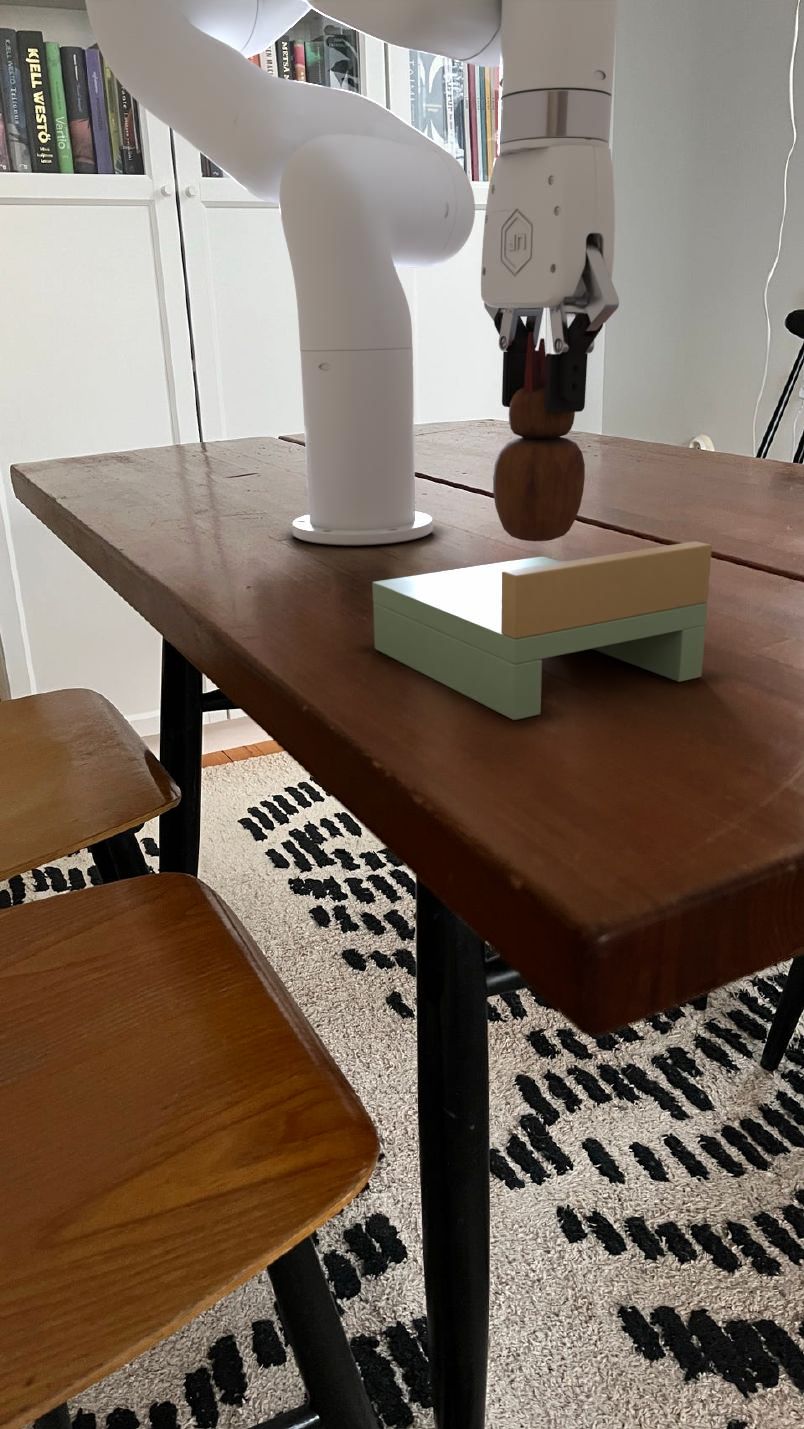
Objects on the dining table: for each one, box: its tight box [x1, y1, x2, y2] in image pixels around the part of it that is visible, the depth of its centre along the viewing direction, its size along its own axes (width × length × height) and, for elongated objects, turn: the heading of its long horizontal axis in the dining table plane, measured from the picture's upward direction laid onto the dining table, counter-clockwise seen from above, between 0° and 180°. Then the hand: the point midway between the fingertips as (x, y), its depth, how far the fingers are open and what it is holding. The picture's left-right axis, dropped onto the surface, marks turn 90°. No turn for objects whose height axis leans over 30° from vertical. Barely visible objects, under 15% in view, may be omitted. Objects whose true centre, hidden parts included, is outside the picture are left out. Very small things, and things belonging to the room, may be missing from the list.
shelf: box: [371, 540, 713, 721], centre depth 57 cm, size 14×12×7 cm
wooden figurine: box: [492, 332, 586, 542], centre depth 79 cm, size 7×6×15 cm
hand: (542, 406), depth 78 cm, fingers closed on wooden figurine, 4 cm apart
